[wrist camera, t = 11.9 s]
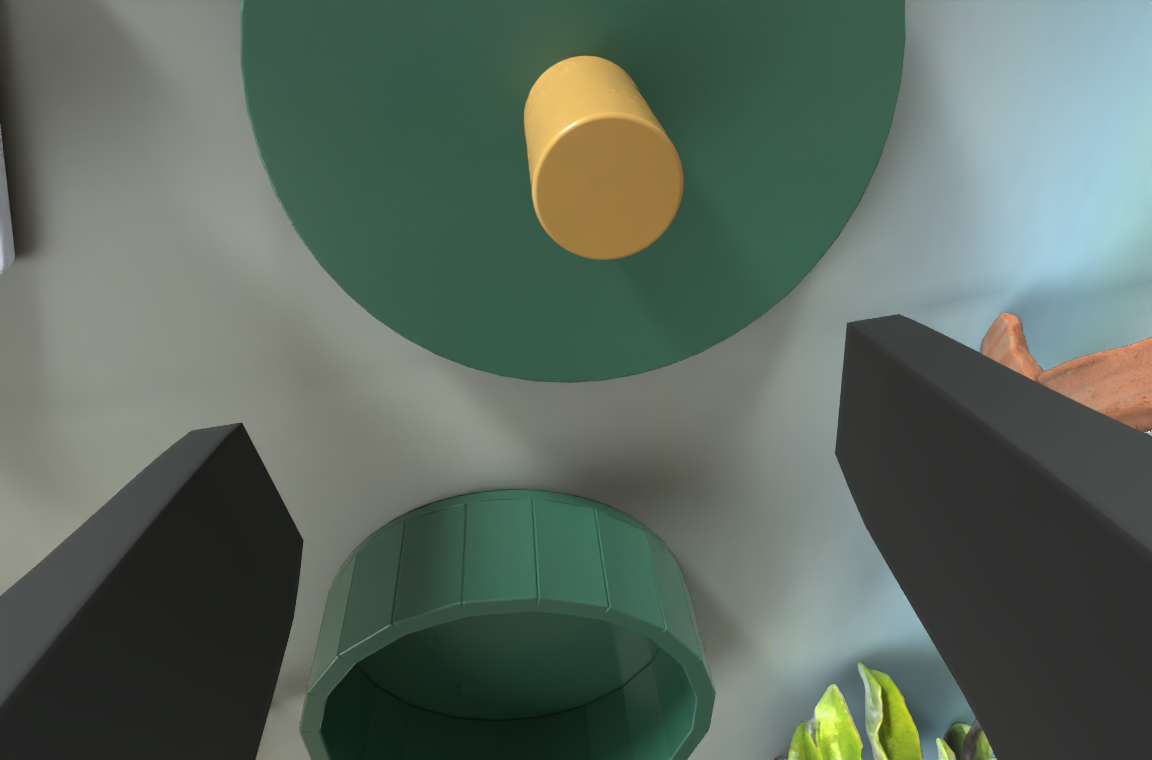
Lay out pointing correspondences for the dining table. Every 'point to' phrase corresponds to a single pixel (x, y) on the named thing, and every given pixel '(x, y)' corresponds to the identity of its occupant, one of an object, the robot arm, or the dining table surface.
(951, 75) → the dining table surface
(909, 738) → the passion flower
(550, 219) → the tin lid
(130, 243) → the dining table surface
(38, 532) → the dining table surface
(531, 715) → the tin
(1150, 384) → the brown hollow shell
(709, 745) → the dining table surface
